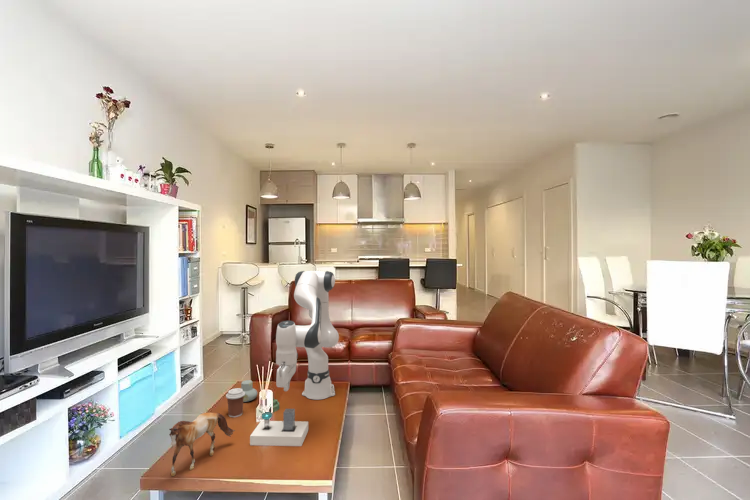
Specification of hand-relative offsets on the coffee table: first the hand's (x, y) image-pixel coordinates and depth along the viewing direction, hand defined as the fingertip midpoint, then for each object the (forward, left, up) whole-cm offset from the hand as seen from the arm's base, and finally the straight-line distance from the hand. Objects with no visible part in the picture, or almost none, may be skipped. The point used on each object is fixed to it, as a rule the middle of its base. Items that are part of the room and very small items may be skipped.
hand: (286, 390), depth 169 cm
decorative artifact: (-29, -17, -22) cm, 40 cm away
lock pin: (0, -9, -17) cm, 20 cm away
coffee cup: (-22, -32, -21) cm, 44 cm away
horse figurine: (+20, -27, -21) cm, 40 cm away
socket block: (0, -3, -21) cm, 21 cm away
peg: (0, +1, -21) cm, 21 cm away
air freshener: (-40, -33, -21) cm, 56 cm away
